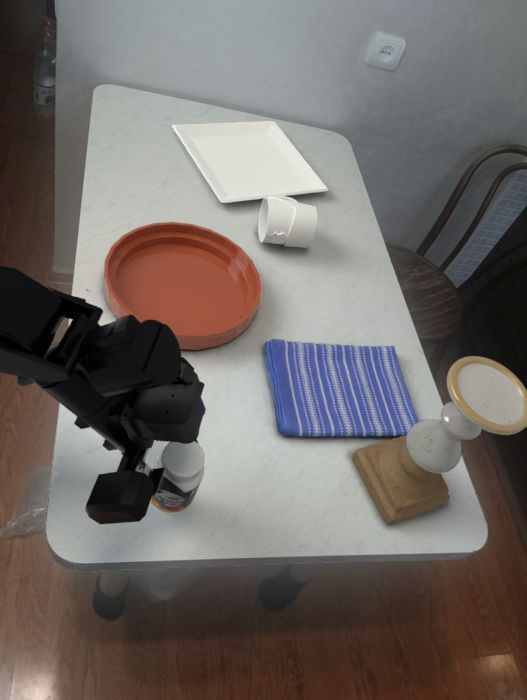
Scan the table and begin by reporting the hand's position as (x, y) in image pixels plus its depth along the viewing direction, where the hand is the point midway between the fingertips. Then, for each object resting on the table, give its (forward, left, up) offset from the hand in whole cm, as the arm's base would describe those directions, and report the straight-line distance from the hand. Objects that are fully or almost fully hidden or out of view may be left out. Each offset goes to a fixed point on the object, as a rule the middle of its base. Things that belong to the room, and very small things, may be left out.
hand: (189, 473), depth 61 cm
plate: (+18, +76, -9) cm, 78 cm away
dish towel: (+26, +18, -9) cm, 33 cm away
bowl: (+2, +37, -9) cm, 38 cm away
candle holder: (+32, +3, -9) cm, 33 cm away
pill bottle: (-1, 0, -7) cm, 7 cm away
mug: (+22, +54, -9) cm, 59 cm away
